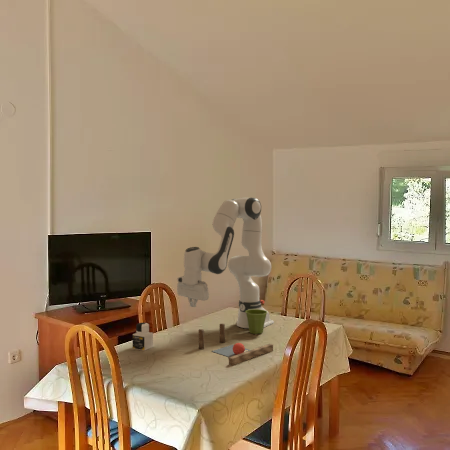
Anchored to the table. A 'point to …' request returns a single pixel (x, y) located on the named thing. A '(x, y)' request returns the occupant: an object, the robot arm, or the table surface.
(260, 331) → the plant pot
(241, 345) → the ball
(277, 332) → the table surface
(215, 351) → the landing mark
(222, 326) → the post
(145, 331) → the medicine bottle
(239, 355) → the stopper wall
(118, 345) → the table surface
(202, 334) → the post
